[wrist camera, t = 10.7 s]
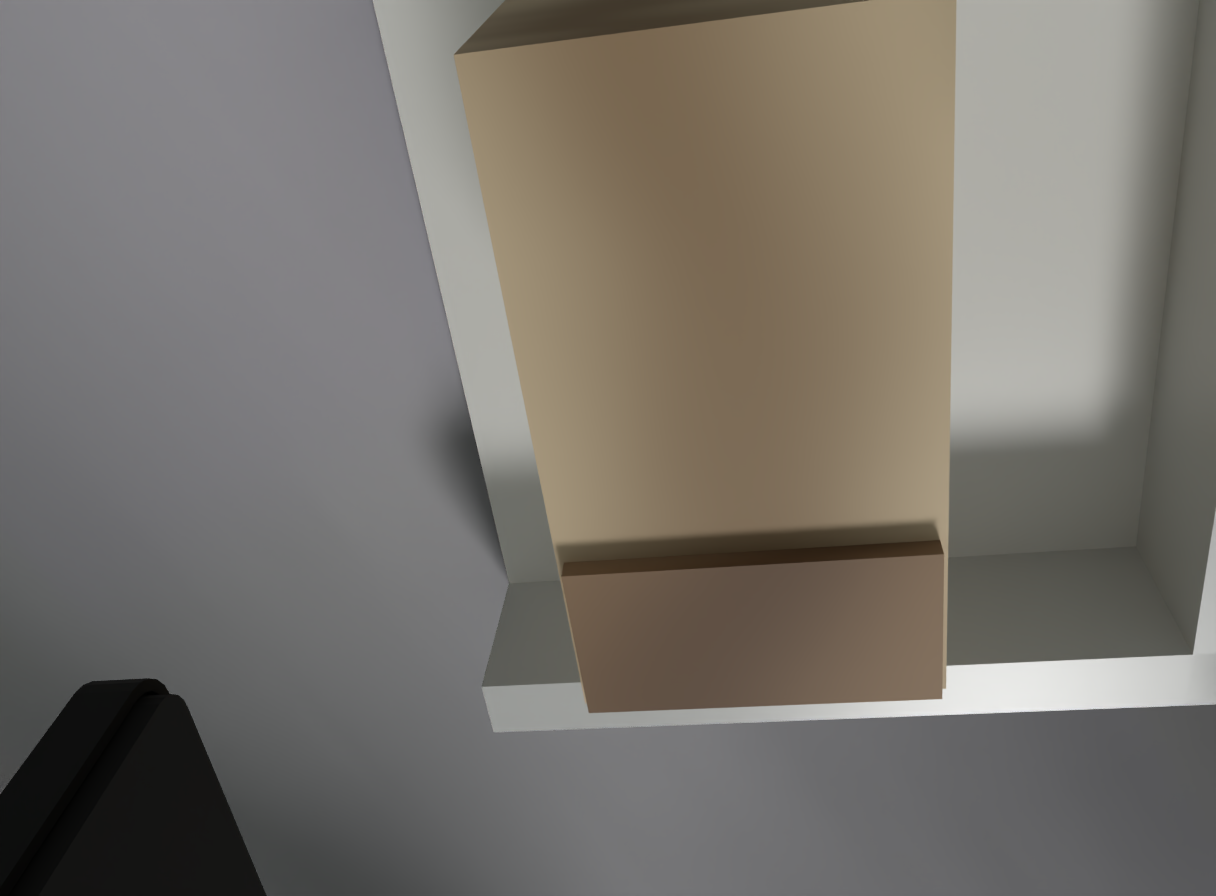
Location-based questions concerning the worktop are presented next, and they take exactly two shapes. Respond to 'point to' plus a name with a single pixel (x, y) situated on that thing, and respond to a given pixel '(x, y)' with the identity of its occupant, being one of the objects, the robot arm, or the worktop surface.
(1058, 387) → the arena
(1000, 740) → the worktop surface
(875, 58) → the beige and brown box
